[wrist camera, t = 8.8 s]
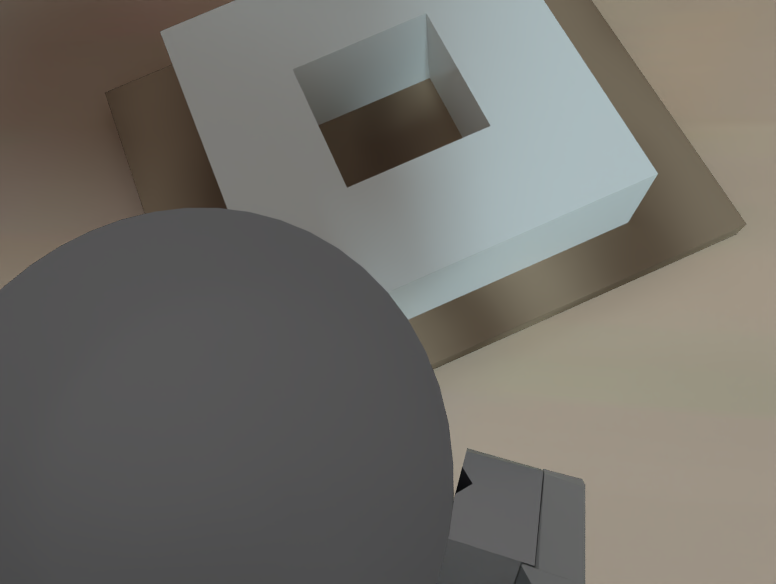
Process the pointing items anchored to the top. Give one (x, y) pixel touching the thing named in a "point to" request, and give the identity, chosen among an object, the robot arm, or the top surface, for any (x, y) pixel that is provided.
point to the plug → (215, 413)
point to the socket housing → (432, 170)
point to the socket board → (436, 129)
